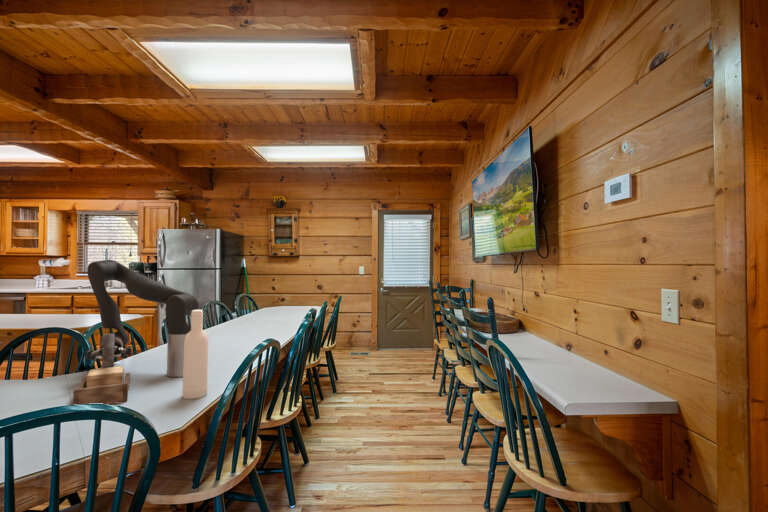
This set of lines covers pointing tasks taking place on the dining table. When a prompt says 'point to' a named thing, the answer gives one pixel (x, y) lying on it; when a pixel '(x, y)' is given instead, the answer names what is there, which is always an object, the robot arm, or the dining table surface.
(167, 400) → the dining table surface
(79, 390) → the bay
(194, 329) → the bottle
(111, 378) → the wooden block with post
